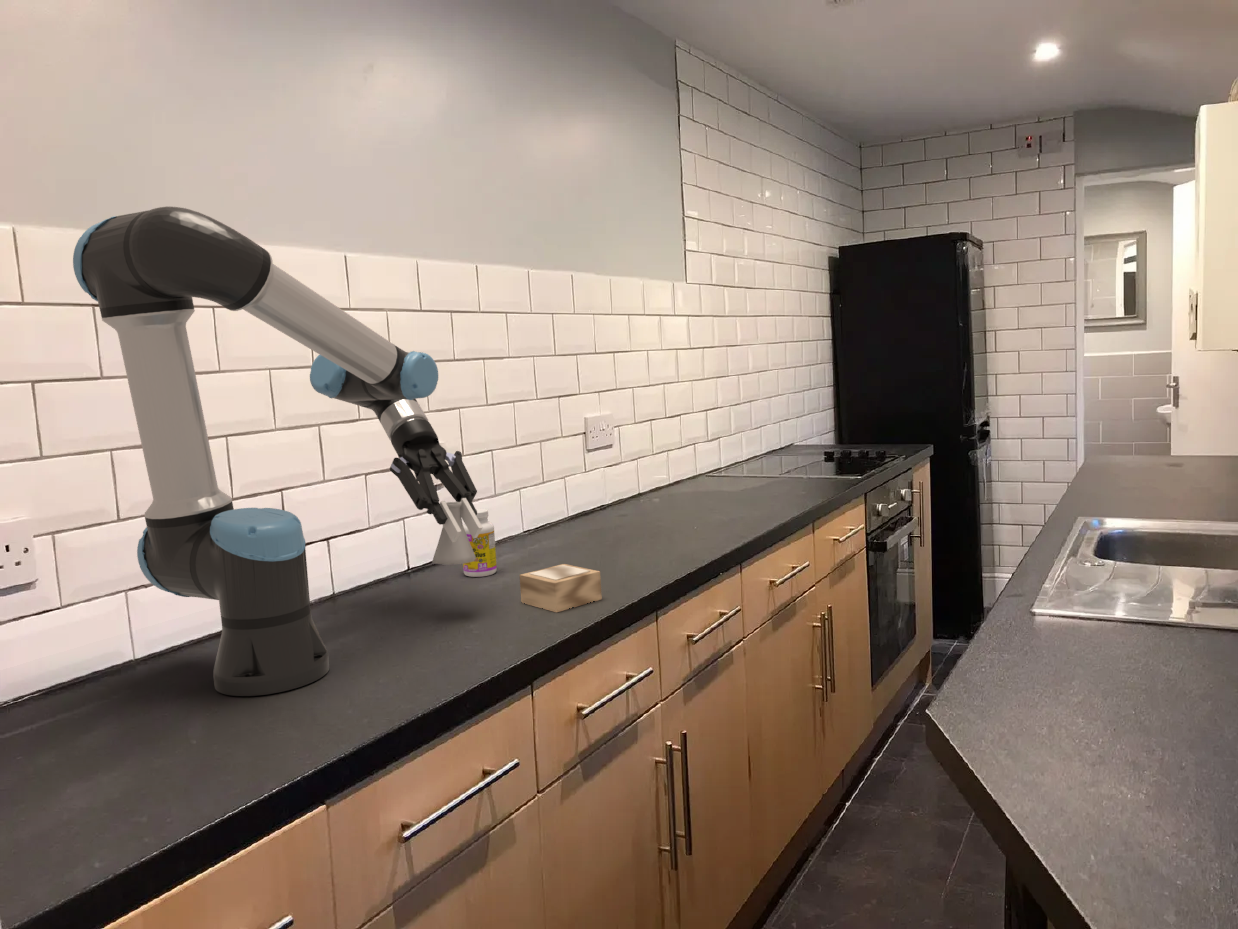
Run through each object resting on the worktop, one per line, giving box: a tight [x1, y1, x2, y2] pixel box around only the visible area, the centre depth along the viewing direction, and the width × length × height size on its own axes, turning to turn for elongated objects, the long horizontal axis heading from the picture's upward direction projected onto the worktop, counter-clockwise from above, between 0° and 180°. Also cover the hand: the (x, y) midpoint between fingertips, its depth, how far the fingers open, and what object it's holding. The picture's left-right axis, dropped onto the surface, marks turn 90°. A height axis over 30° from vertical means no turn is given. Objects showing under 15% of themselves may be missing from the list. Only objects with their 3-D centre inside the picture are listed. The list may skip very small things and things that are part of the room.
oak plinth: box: [519, 563, 603, 613], centre depth 159 cm, size 10×10×5 cm
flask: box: [431, 501, 476, 566], centre depth 152 cm, size 7×7×10 cm
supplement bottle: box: [462, 508, 498, 578], centre depth 183 cm, size 7×7×13 cm
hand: (467, 534), depth 149 cm, fingers closed on flask, 3 cm apart
